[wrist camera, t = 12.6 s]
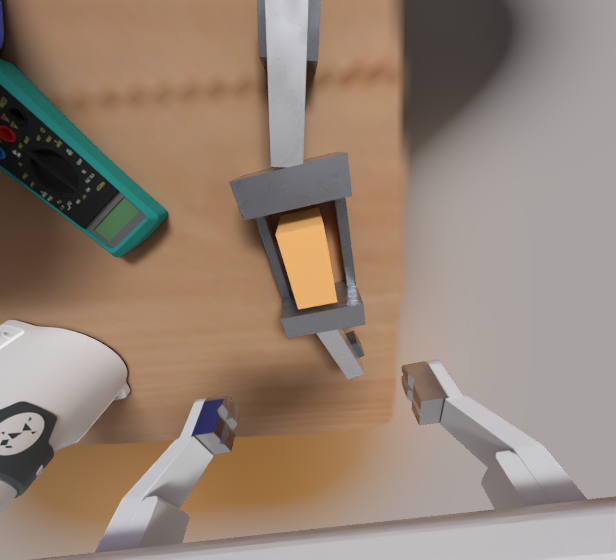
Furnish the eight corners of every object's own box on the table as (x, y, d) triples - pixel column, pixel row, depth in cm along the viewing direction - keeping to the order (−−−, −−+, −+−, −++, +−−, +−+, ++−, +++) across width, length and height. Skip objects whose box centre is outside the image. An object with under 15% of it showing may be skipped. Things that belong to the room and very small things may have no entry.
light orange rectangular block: (330, 272, 27) (337, 302, 21) (298, 278, 27) (298, 309, 22) (318, 207, 23) (323, 224, 17) (281, 215, 23) (275, 234, 18)
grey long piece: (362, 349, 34) (371, 378, 29) (305, 358, 34) (306, 388, 30) (316, -14, 15) (322, -81, 11) (193, 25, 16) (153, -22, 11)
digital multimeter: (6, 52, 16) (-48, 34, 14) (174, 213, 23) (158, 221, 20) (-30, 121, 18) (-82, 117, 16) (133, 251, 25) (114, 263, 22)
